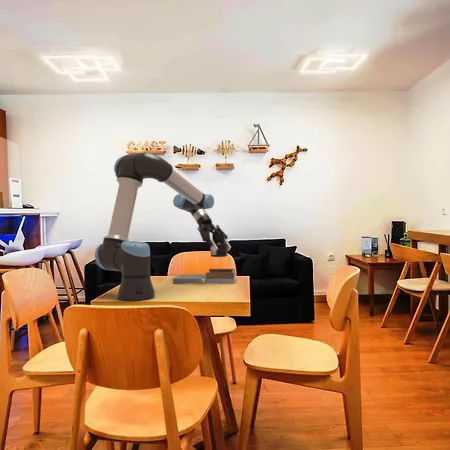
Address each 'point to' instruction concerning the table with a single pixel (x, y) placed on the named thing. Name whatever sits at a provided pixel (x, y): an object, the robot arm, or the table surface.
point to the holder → (220, 274)
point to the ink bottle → (219, 245)
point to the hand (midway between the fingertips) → (222, 249)
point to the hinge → (200, 279)
